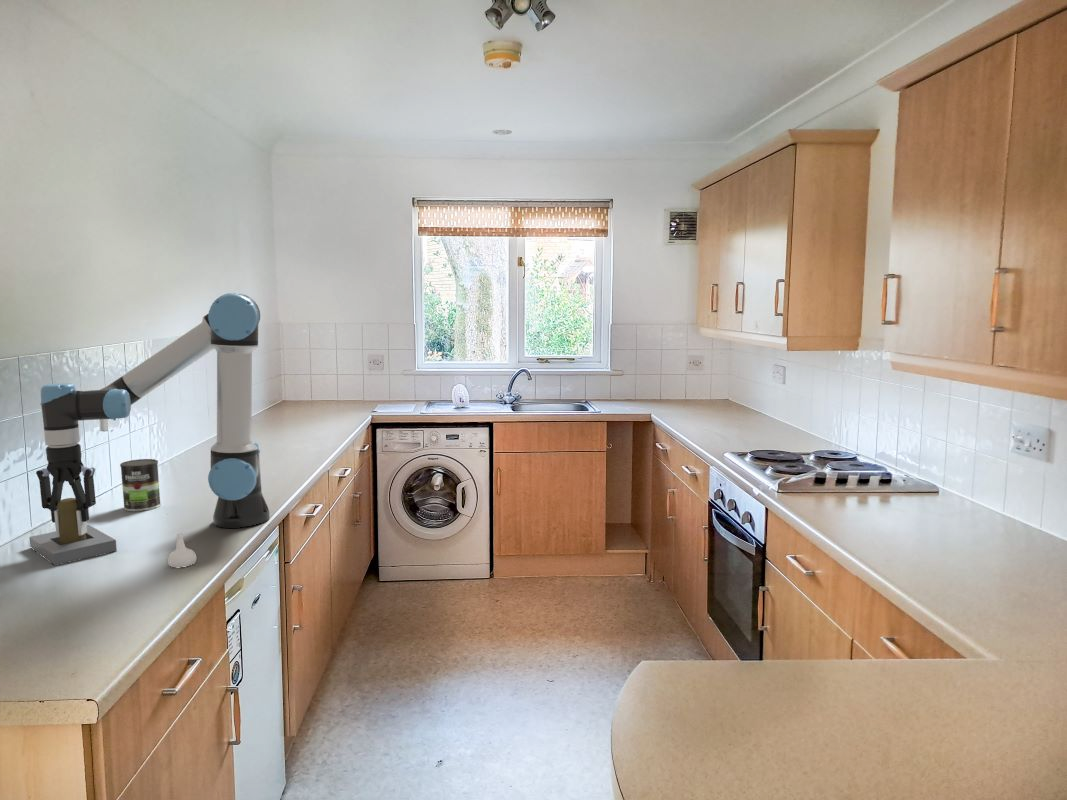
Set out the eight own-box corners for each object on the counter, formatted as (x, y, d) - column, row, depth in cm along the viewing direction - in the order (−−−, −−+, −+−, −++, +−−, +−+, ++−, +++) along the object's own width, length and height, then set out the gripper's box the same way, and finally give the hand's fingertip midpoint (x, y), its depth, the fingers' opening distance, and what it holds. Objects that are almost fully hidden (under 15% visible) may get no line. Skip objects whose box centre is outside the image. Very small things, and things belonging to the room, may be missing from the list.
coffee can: (157, 510, 236) (154, 464, 234) (120, 512, 233) (116, 467, 231) (164, 501, 246) (160, 457, 244) (128, 504, 243) (124, 460, 241)
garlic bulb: (189, 560, 192) (185, 529, 191) (202, 563, 188) (198, 531, 187) (164, 567, 187) (159, 535, 186) (176, 571, 183) (172, 537, 182)
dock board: (116, 551, 198) (115, 539, 197) (54, 565, 188) (53, 553, 187) (89, 535, 211) (88, 524, 211) (30, 548, 201) (29, 536, 201)
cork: (80, 535, 203) (76, 494, 202) (90, 539, 200) (86, 498, 198) (55, 541, 199) (50, 499, 197) (64, 545, 195) (60, 503, 194)
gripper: (106, 441, 200) (114, 528, 203) (35, 442, 199) (45, 530, 202) (91, 446, 192) (99, 537, 196) (17, 448, 192) (27, 539, 195)
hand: (72, 533), depth 199 cm, fingers closed on cork, 5 cm apart
